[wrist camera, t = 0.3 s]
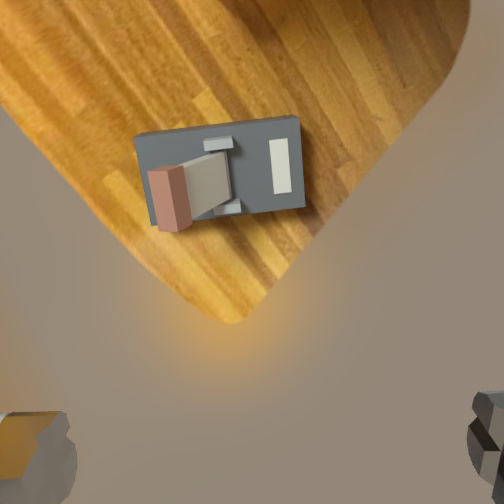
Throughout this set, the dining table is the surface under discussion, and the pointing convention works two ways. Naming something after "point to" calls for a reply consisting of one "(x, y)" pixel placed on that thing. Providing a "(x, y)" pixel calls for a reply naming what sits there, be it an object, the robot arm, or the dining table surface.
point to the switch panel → (235, 162)
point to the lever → (189, 190)
